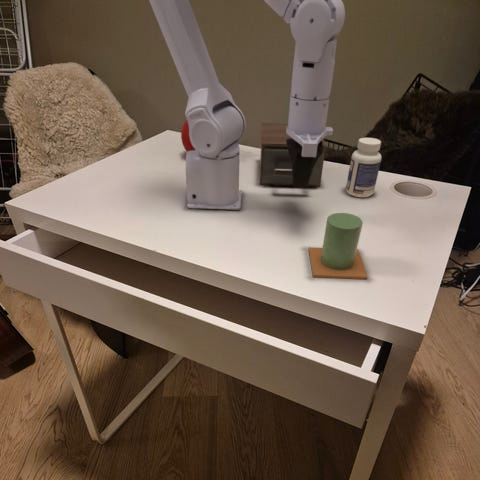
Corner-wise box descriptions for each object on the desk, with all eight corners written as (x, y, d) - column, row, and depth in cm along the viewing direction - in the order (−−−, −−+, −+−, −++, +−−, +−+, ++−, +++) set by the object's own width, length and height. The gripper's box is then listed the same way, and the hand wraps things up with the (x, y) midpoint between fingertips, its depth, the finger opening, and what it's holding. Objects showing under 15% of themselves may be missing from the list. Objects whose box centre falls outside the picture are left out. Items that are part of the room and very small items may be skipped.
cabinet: (319, 186, 83) (326, 144, 78) (259, 184, 83) (261, 142, 78) (313, 162, 93) (318, 124, 88) (260, 161, 94) (262, 122, 89)
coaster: (312, 277, 58) (313, 274, 58) (308, 249, 64) (308, 247, 64) (367, 279, 58) (367, 276, 58) (357, 251, 64) (358, 249, 64)
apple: (210, 165, 91) (208, 116, 85) (174, 159, 94) (170, 111, 88) (228, 153, 98) (228, 106, 91) (194, 147, 100) (192, 101, 94)
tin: (322, 269, 59) (329, 228, 55) (318, 252, 63) (325, 212, 59) (356, 270, 59) (365, 229, 55) (350, 253, 63) (359, 213, 59)
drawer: (320, 193, 78) (325, 159, 74) (262, 191, 79) (264, 157, 75) (312, 162, 91) (316, 132, 87) (263, 160, 91) (264, 130, 87)
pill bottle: (378, 193, 81) (391, 141, 75) (361, 200, 78) (373, 147, 72) (357, 184, 84) (367, 134, 78) (339, 191, 82) (348, 139, 75)
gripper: (345, 109, 55) (329, 206, 64) (331, 86, 66) (319, 171, 75) (291, 108, 55) (283, 204, 64) (286, 85, 66) (280, 170, 75)
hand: (299, 186), depth 69 cm, fingers closed
